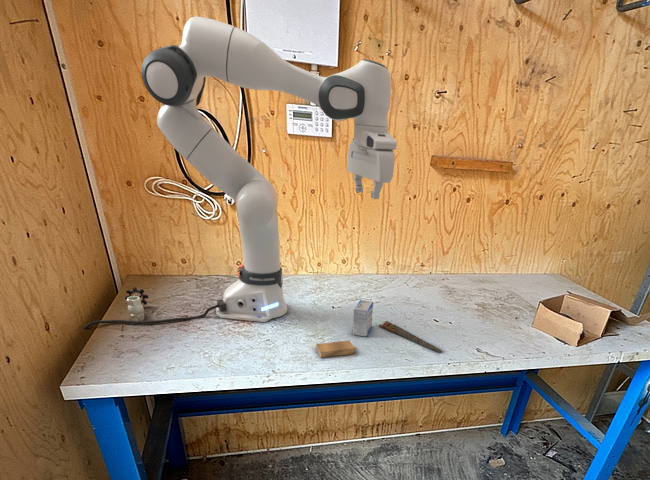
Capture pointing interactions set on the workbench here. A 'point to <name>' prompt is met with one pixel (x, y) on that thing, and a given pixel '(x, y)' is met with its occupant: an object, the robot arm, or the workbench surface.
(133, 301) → the valve
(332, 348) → the plywood offcut
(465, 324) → the workbench surface
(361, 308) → the medicine box
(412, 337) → the hand saw
